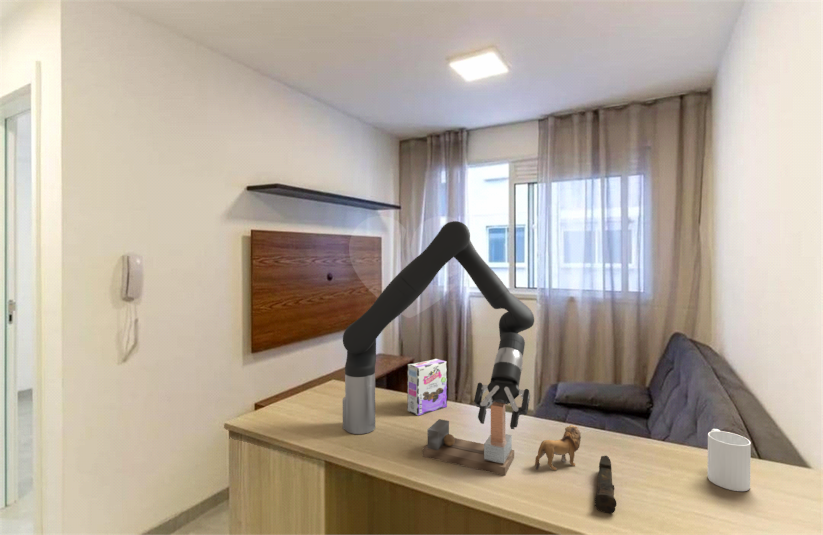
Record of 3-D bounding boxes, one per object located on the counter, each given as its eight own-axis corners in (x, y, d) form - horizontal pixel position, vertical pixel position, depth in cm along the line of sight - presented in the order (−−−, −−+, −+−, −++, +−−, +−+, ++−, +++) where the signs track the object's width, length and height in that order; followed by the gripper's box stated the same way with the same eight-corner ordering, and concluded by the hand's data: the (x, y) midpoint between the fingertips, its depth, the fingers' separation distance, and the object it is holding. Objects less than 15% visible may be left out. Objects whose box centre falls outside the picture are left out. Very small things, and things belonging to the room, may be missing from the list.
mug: (757, 494, 90) (758, 447, 90) (715, 489, 92) (716, 443, 92) (731, 467, 102) (732, 425, 102) (695, 463, 104) (695, 422, 104)
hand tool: (616, 517, 83) (616, 494, 83) (594, 511, 85) (594, 489, 85) (618, 473, 100) (618, 455, 100) (600, 470, 102) (600, 451, 101)
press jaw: (484, 459, 102) (484, 407, 102) (492, 446, 109) (492, 398, 109) (504, 464, 100) (504, 411, 99) (511, 450, 107) (511, 400, 106)
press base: (422, 456, 108) (422, 430, 108) (437, 441, 117) (437, 417, 117) (505, 475, 99) (505, 447, 98) (514, 457, 107) (514, 431, 107)
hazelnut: (441, 446, 110) (441, 435, 110) (446, 442, 112) (446, 431, 112) (452, 448, 108) (452, 437, 108) (456, 444, 111) (456, 433, 111)
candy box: (417, 416, 136) (417, 367, 136) (406, 411, 141) (406, 363, 140) (447, 406, 145) (447, 360, 144) (436, 402, 149) (436, 357, 149)
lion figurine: (569, 454, 109) (569, 420, 109) (586, 462, 105) (586, 428, 104) (528, 467, 103) (528, 431, 102) (544, 477, 98) (544, 440, 98)
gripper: (479, 358, 114) (466, 413, 104) (532, 363, 107) (523, 423, 97) (485, 372, 119) (472, 426, 108) (535, 378, 112) (527, 437, 102)
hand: (496, 425), depth 103 cm, fingers open, 7 cm apart
